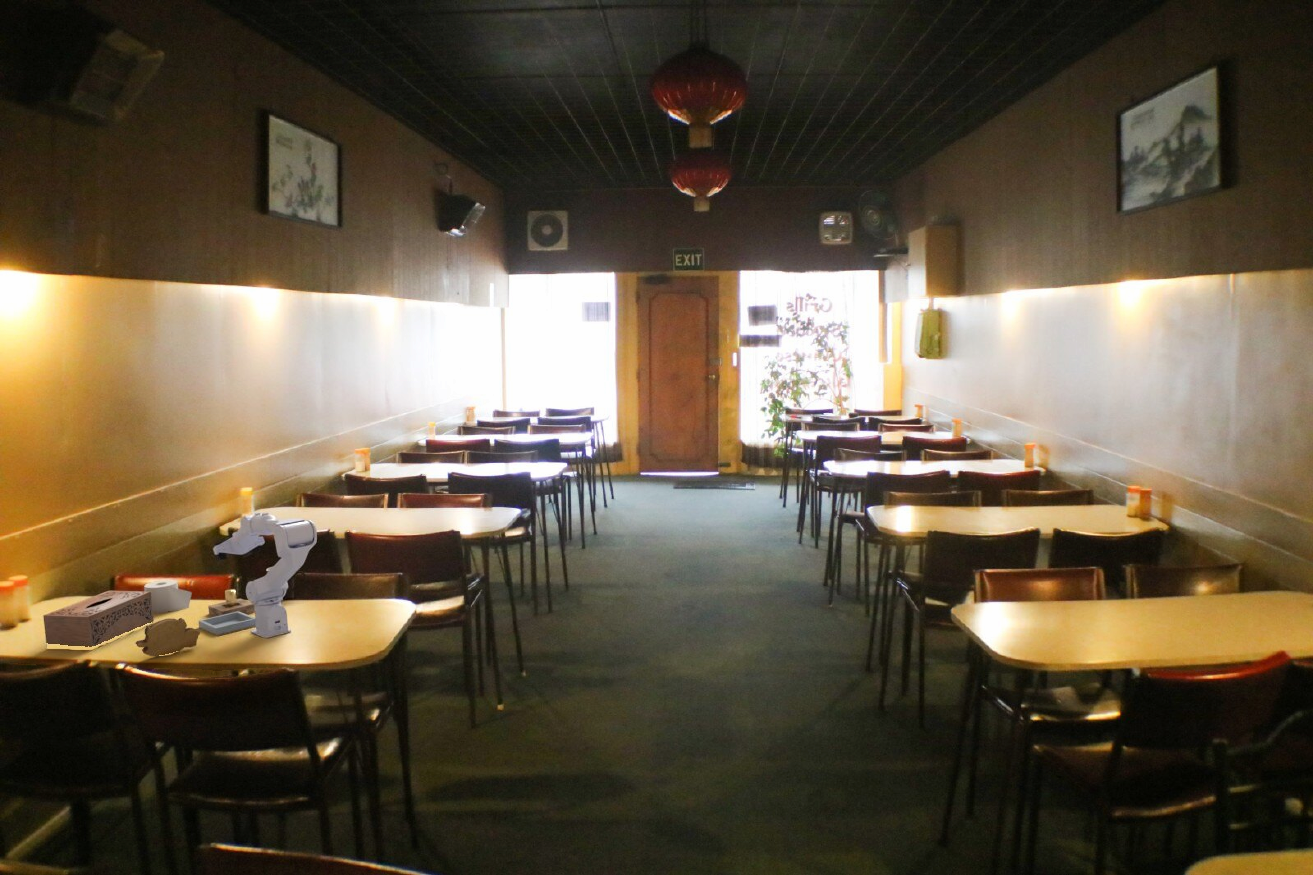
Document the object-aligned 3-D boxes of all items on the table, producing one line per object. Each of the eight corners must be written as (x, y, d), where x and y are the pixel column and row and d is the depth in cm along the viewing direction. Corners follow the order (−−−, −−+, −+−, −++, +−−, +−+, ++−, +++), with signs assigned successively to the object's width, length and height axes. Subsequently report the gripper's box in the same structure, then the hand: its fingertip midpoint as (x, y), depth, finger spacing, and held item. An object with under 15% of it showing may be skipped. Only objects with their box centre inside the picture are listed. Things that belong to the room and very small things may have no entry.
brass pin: (239, 612, 323) (237, 590, 322) (229, 614, 321) (227, 592, 320) (234, 610, 325) (232, 588, 325) (225, 613, 323) (223, 590, 322)
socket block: (255, 613, 323) (254, 604, 323) (223, 621, 316) (222, 611, 316) (241, 607, 330) (240, 598, 330) (209, 615, 323) (208, 605, 323)
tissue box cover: (91, 651, 292) (88, 616, 291) (47, 650, 295) (43, 615, 294) (153, 624, 317) (150, 591, 316) (112, 622, 320) (108, 590, 319)
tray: (257, 626, 309) (256, 618, 309) (216, 636, 301) (215, 628, 301) (239, 619, 318) (238, 611, 317) (199, 629, 309) (198, 620, 309)
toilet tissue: (194, 609, 331) (192, 582, 330) (147, 616, 325) (145, 589, 323) (191, 602, 339) (188, 576, 338) (145, 609, 332) (142, 583, 331)
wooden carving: (194, 644, 294) (191, 610, 293) (202, 647, 291) (199, 612, 290) (134, 661, 282) (130, 624, 281) (141, 664, 279) (138, 627, 278)
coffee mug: (262, 600, 338) (260, 570, 337) (283, 593, 345) (281, 564, 344) (289, 604, 332) (286, 573, 331) (309, 597, 340) (307, 567, 339)
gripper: (264, 521, 315) (249, 540, 324) (216, 530, 305) (202, 549, 314) (272, 542, 313) (257, 560, 322) (223, 552, 303) (209, 571, 312)
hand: (230, 556), depth 318 cm, fingers open, 7 cm apart
